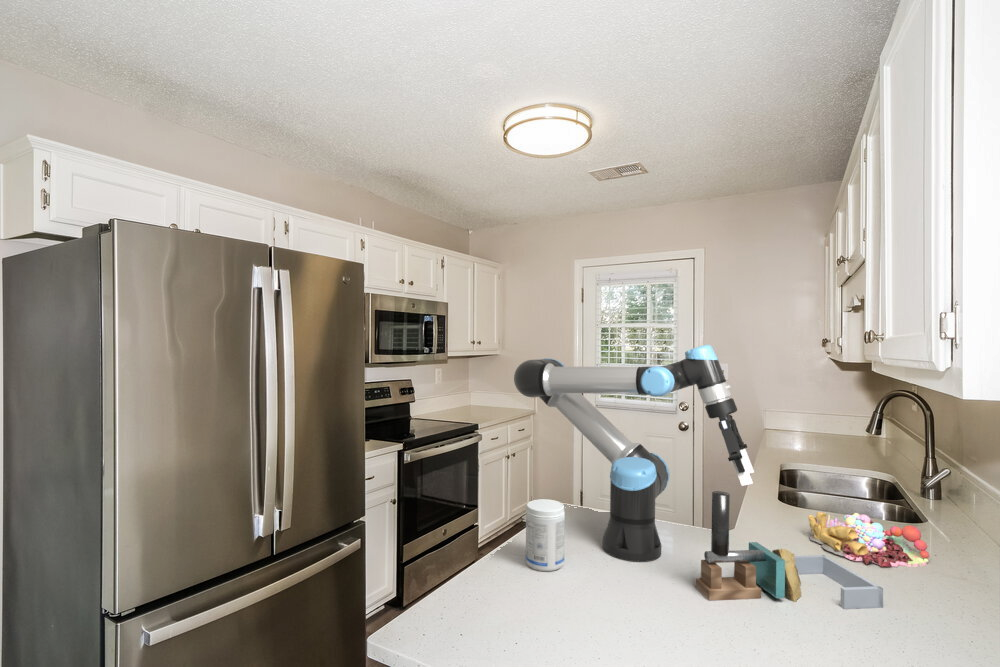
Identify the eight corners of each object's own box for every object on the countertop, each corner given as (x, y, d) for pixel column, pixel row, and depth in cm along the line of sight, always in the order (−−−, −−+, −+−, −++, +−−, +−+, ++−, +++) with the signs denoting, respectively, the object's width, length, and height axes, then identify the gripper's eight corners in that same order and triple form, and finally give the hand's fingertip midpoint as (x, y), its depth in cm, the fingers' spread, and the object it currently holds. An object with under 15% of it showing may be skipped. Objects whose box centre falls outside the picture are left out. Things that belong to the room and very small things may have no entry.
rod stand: (709, 600, 110) (709, 570, 110) (695, 587, 116) (695, 558, 116) (761, 598, 112) (761, 568, 112) (745, 585, 118) (745, 556, 118)
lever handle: (718, 600, 109) (720, 500, 109) (695, 578, 118) (696, 487, 119) (784, 597, 110) (785, 499, 110) (756, 576, 120) (757, 486, 120)
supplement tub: (553, 554, 133) (554, 497, 133) (571, 569, 124) (572, 508, 124) (519, 558, 129) (520, 500, 130) (534, 575, 120) (535, 512, 121)
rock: (784, 565, 124) (754, 565, 120) (806, 546, 119) (775, 545, 116) (812, 609, 115) (782, 610, 112) (837, 590, 111) (806, 590, 108)
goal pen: (844, 609, 108) (844, 589, 108) (789, 572, 125) (789, 555, 125) (882, 607, 109) (883, 588, 109) (823, 571, 126) (823, 555, 126)
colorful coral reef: (866, 573, 126) (866, 535, 126) (791, 537, 149) (792, 505, 149) (945, 565, 132) (945, 529, 132) (861, 531, 155) (861, 500, 155)
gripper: (729, 400, 126) (763, 486, 122) (735, 393, 148) (763, 466, 144) (698, 409, 129) (730, 493, 125) (708, 401, 152) (736, 472, 148)
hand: (748, 478), depth 135 cm, fingers open, 13 cm apart
